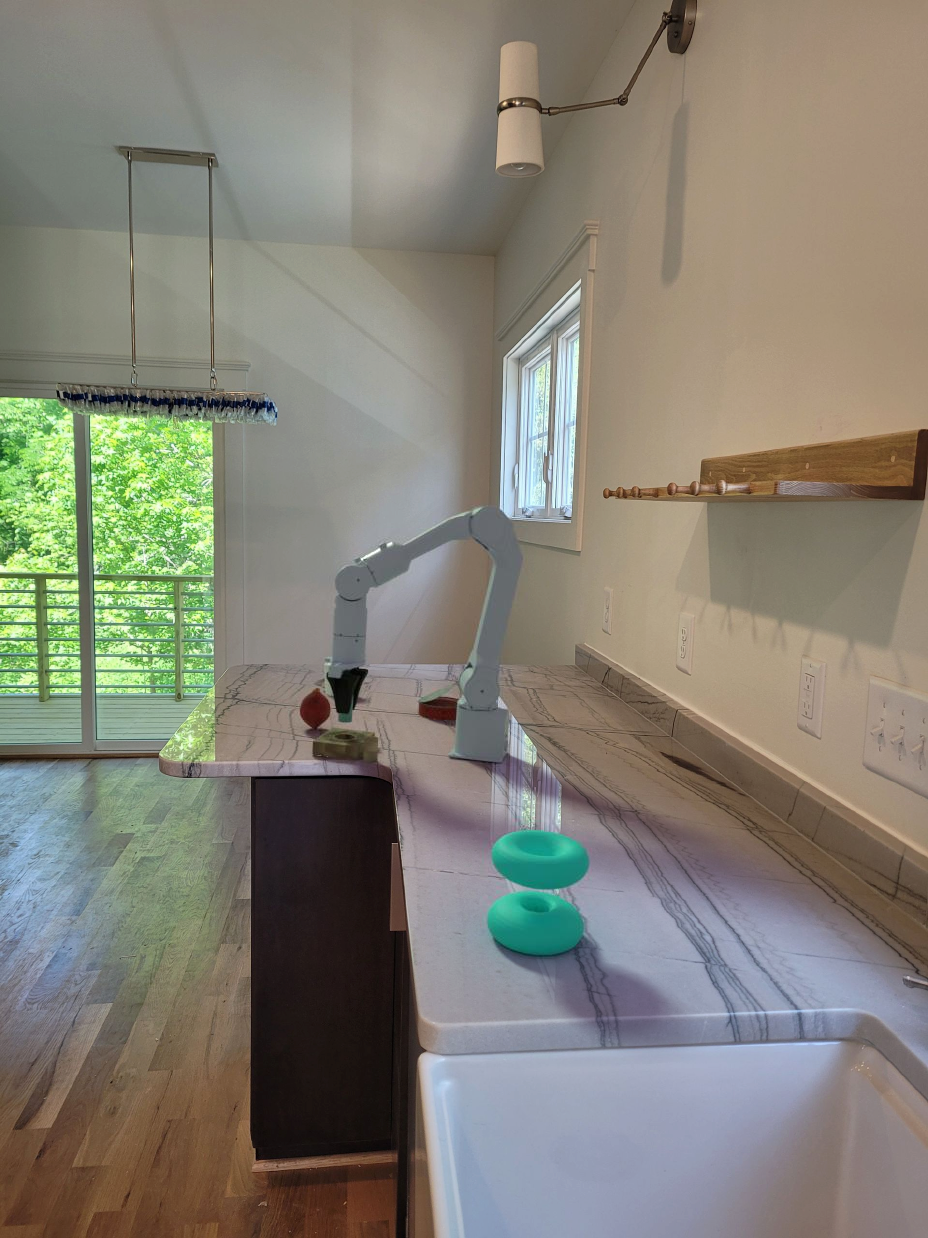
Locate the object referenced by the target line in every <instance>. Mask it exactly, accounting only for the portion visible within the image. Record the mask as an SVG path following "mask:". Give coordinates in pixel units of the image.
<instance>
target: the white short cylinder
mask: <svg viewBox="0 0 928 1238" xmlns="http://www.w3.org/2000/svg"><path fill="white" fill-rule="evenodd" d="M329 665H330V662H324V663H323V666H324V667H323V669H324V672H323V673H324V687H325V688H324V689H325V690H324V691H325V695H326V694H327V695H326V696H328V695H329V697H334V696H333V692H332V689H331V686H330V684H329V682H328V680H327V678H326V673H327V672H328V670H329Z"/></svg>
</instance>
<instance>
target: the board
mask: <svg viewBox="0 0 928 1238" xmlns="http://www.w3.org/2000/svg"><path fill="white" fill-rule="evenodd" d="M366 736H375V737H376V733H375V732H374V731H366V730H365V731H364V730H356V729H347V728H339V727H331V728H330V729H329V730H327V731H326V732H324V733H322V734H321V735H320V736H319V737H317V738H316V739H314V740H313V741H312V749H311V750H312V751H311V753H312V754H313V755H321V756H326V757H325V758H328V757H334V758H333V759H337V758H339V759H338V760H347V761H352V762H353V761H354V762H356V761H357V762H358V761H359V760H360V759H361V758H363V751H364V737H366ZM312 754H311V755H312ZM327 756H328V757H327Z"/></svg>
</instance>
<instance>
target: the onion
mask: <svg viewBox="0 0 928 1238" xmlns="http://www.w3.org/2000/svg"><path fill="white" fill-rule="evenodd" d="M331 711H332V709H331V703H330V701H329V699H328V697H327V696H325V695H324V694H323V693H321V688H320V687H317V686H316V687H314V688H313V690H312V691H311V692H310V693H309V694H307V695H306V696H305V697H304V698H303V699H302V701H301V703H300V706H299V715H300V718H301V720H302V721H303V722H304V723H306V725H307V726H309V727H310V728H311V729H313V728H316V729H318V728H319V727H320V726H321V725H323V724H324V723H325V722H326V721H327V720H329V718H330V715H331Z"/></svg>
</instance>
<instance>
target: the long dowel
mask: <svg viewBox="0 0 928 1238" xmlns="http://www.w3.org/2000/svg"><path fill="white" fill-rule="evenodd" d="M353 711H354V710H353V698H352V704H351V709H350V712H349V714H342V713H337V714H338V717H337V721H338V722H339V723H347V724H348V723H352V722H353Z"/></svg>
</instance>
